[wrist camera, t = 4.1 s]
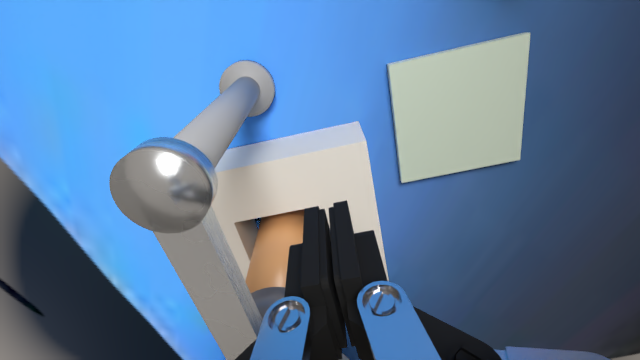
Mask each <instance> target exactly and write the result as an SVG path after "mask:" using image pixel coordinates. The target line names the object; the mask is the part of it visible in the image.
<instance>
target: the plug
mask: <svg viewBox="0 0 640 360" xmlns="http://www.w3.org/2000/svg"><path fill="white" fill-rule="evenodd" d="M303 224H304V209H302V210H296V211H291V212H286V213H281V214H276V215H271V216H266V217H261V221H260V225H259V229H258V233H257V237H256V241H255V245H254V249H253V253H252V257H251V261H250V265H249V269H248V273H247V277H246V281H245V282H246V284H247V286H248V288H249V291H250V293H251V295H252V297H253V299H254V302H255V304H256V306H257V308H258V311H259V313H260V315H261V317H262V320H263V317H264V315H265V313H266V311H267V310H268V308H269V307H270V306H271V305H272V304H273V303H275V302H276V301H278V300H280V299H282V298H284V295H285V285H286V275H287V266H288V256H289V248H290V246H291V245H295V244H301V243H303Z"/></svg>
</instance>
